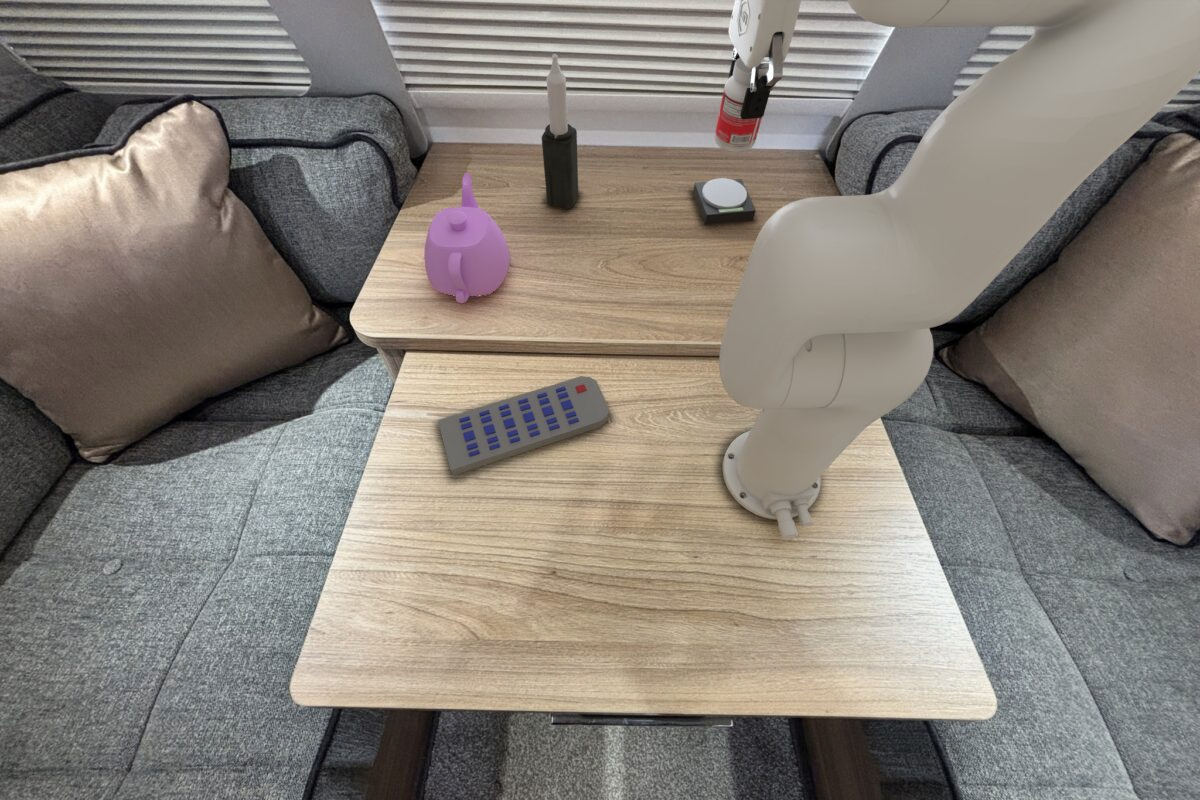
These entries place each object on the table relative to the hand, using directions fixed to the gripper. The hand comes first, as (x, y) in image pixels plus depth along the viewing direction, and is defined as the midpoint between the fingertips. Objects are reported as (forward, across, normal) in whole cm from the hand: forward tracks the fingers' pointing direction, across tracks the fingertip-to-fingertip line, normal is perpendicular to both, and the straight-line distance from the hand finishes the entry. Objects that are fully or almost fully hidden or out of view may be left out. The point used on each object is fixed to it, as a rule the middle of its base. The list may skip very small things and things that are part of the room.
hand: (744, 102), depth 75 cm
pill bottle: (+6, 0, 0) cm, 6 cm away
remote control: (+23, +35, -36) cm, 55 cm away
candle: (+23, -12, -26) cm, 37 cm away
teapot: (+23, +4, -43) cm, 49 cm away
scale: (+23, -6, +3) cm, 24 cm away
